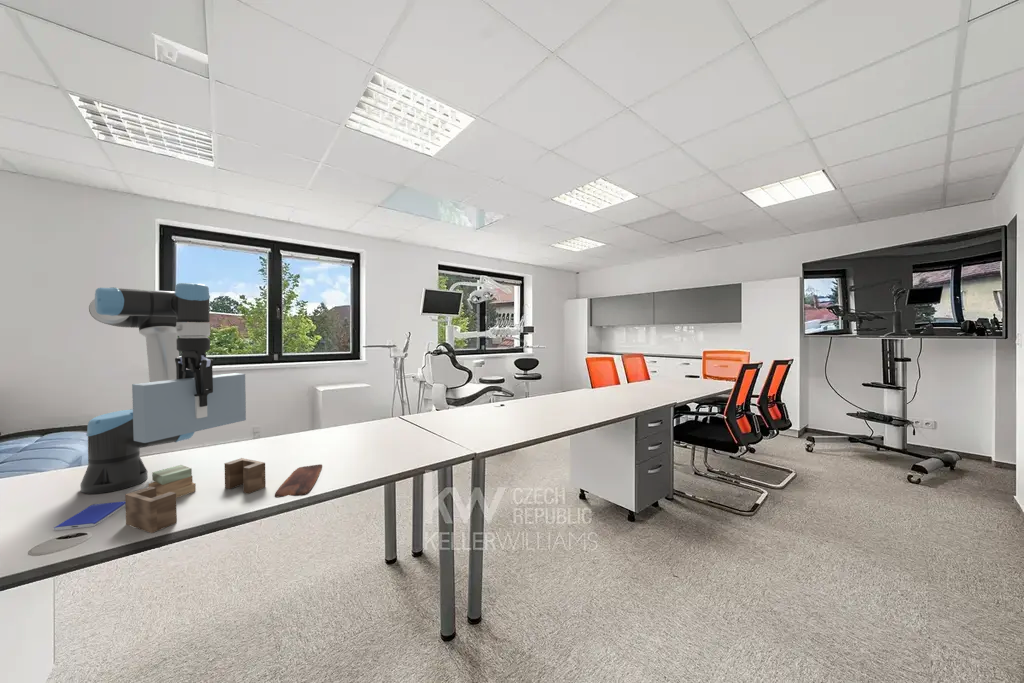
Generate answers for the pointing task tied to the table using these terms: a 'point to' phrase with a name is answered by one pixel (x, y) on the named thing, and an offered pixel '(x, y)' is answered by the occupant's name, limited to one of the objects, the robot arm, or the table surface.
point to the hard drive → (91, 515)
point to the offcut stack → (173, 481)
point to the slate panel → (185, 406)
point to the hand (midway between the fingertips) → (195, 416)
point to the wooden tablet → (299, 481)
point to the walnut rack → (161, 509)
